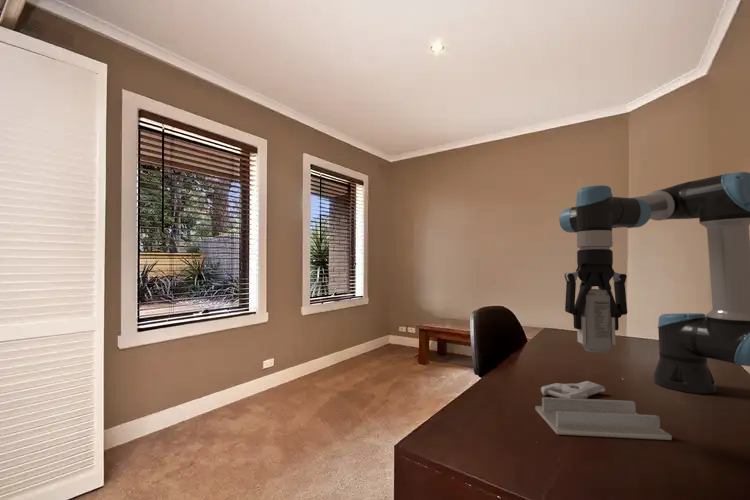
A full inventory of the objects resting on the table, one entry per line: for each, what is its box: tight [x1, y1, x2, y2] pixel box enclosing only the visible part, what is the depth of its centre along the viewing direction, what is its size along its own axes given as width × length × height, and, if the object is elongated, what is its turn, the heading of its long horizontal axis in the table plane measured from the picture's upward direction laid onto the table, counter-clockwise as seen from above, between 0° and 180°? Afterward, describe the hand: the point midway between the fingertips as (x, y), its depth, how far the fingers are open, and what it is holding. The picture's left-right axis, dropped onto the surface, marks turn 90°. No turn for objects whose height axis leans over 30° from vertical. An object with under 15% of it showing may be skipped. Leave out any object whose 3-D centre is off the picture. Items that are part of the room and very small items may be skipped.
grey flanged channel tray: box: [535, 396, 673, 441], centre depth 86 cm, size 24×14×4 cm, turn 84°
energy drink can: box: [581, 288, 612, 354], centre depth 87 cm, size 6×6×15 cm
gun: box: [540, 380, 606, 399], centre depth 106 cm, size 18×4×10 cm
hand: (596, 343), depth 87 cm, fingers closed on energy drink can, 6 cm apart
